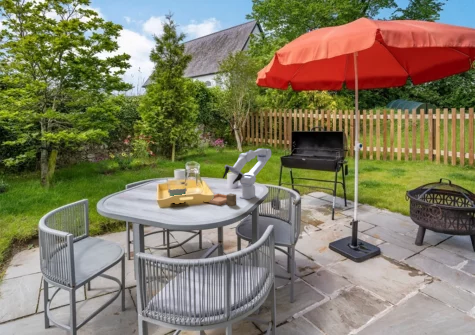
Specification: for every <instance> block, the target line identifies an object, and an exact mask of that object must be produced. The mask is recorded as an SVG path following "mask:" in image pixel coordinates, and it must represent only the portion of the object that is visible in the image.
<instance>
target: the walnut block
mask: <svg viewBox="0 0 475 335" xmlns="http://www.w3.org/2000/svg"><path fill="white" fill-rule="evenodd" d="M225 195H226V198H227V203H226V206H229V207H235V206H236V205H237V194H235V193H228V194H225Z"/></svg>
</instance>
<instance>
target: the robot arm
mask: <svg viewBox="0 0 475 335" xmlns="http://www.w3.org/2000/svg"><path fill="white" fill-rule="evenodd" d="M256 157H257V162H256V164H254V166H253V167H252V168H251V169H249V172H245V173H243V172H241V171H242V169H243V168H244V167H245V165H246V164H247V163H248V162H251V160H254V159H255V158H256ZM271 157H272V150H271V148H257V149H256V150H252V149H249V151H245V152H242V153H240V154H239V155H238V158H237V161H236V162H235V163H234V164H233V166H231V165H228V164H225V165H224V172H223V173H224V174H223V176H222V178H223V179H225V177H226V176H227V174H229V172H231V173H232V174H233V175H236V178H235V179H234V180H233V181H232V184H233V185H234V184H236V182H239V183H240V185H241V190H242V192H241V193H242V195H241V196H239V198H240V199H246V200H251V199H253V198H256V197H257V195H256V187H255V185H254V184H255V182H256V180H257V177H256V176H257V175H258V174H259V173H260V171H261V170H262V169H263V168H264V167H265V166H266V163H268V161H269V160H270V158H271Z"/></svg>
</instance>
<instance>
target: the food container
mask: <svg viewBox="0 0 475 335" xmlns="http://www.w3.org/2000/svg"><path fill="white" fill-rule="evenodd" d="M167 192H168V193H169V197H170V196H174V195H182V194H186V192H187V187H185V188H175V189H170V188H169V189H168V191H167ZM186 195H187V194H186Z"/></svg>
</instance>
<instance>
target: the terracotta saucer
mask: <svg viewBox="0 0 475 335" xmlns="http://www.w3.org/2000/svg"><path fill="white" fill-rule="evenodd" d="M213 195H214V198H213V200H212V199H211V200H210V202H209V203H208V204H211V205H216V206H222V205H225V204H227V198H226V195H227V194H224V193H223V194H222V193H216V194H213Z"/></svg>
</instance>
